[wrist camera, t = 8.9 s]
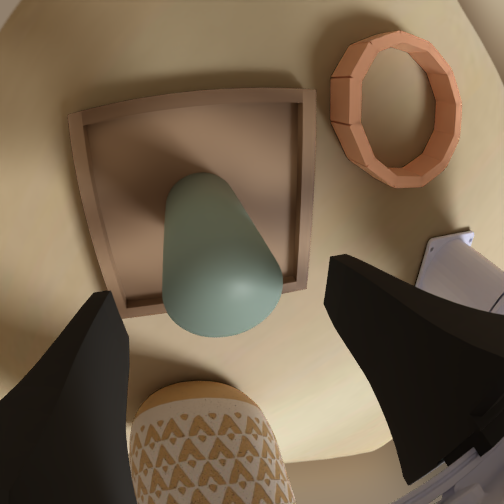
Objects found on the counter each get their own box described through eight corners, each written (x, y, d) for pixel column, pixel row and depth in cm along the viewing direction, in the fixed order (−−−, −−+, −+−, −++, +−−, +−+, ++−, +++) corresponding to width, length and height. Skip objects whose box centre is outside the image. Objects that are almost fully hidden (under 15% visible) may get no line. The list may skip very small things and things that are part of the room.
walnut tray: (298, 277, 21) (306, 288, 20) (121, 305, 19) (118, 319, 18) (305, 89, 15) (316, 89, 14) (76, 113, 12) (67, 114, 11)
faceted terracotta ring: (434, 178, 20) (452, 186, 18) (327, 180, 18) (344, 190, 16) (441, 56, 15) (462, 57, 13) (328, 21, 13) (347, 14, 11)
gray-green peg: (237, 233, 18) (280, 326, 11) (171, 243, 17) (175, 344, 10) (234, 168, 16) (284, 230, 9) (161, 177, 15) (150, 249, 8)
